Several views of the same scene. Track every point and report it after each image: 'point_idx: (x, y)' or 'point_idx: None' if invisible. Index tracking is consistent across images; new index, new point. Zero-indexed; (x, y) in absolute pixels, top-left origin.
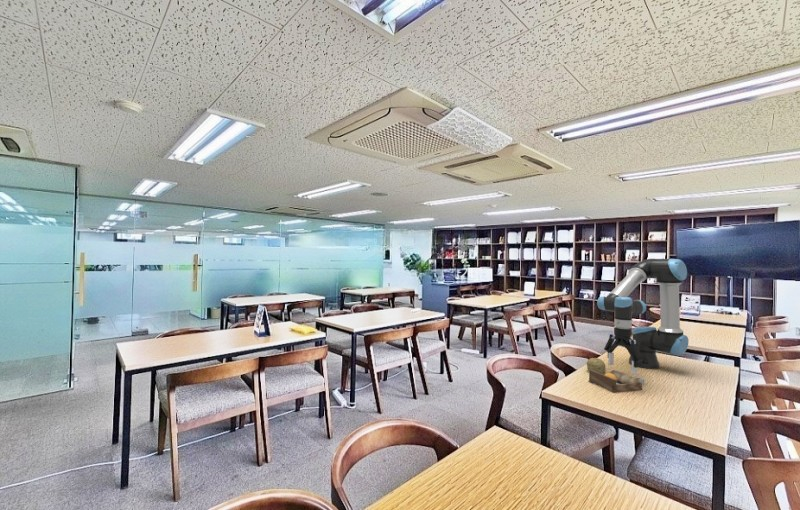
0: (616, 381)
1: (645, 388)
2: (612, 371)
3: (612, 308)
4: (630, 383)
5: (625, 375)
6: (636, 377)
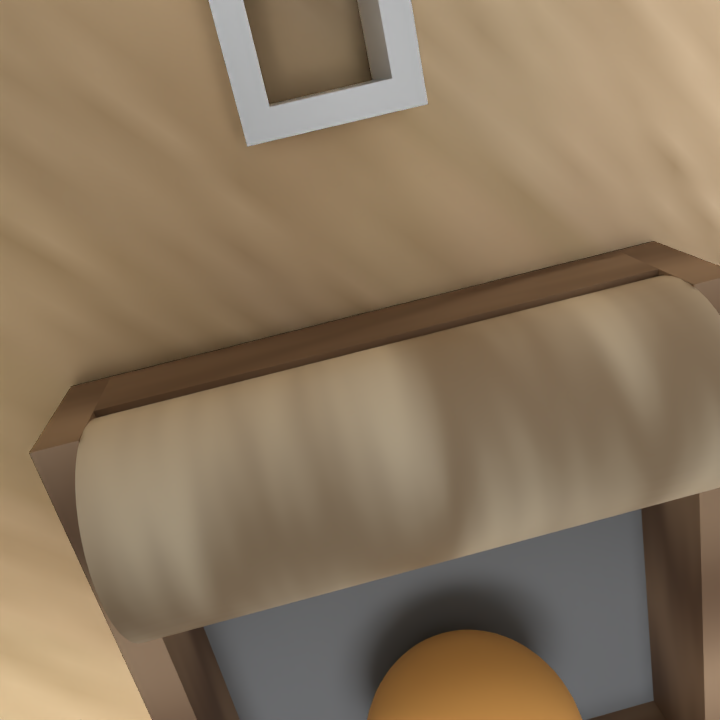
0: (561, 680)
1: (597, 107)
2: (167, 631)
3: None
4: (713, 527)
5: (509, 529)
6: (239, 21)
